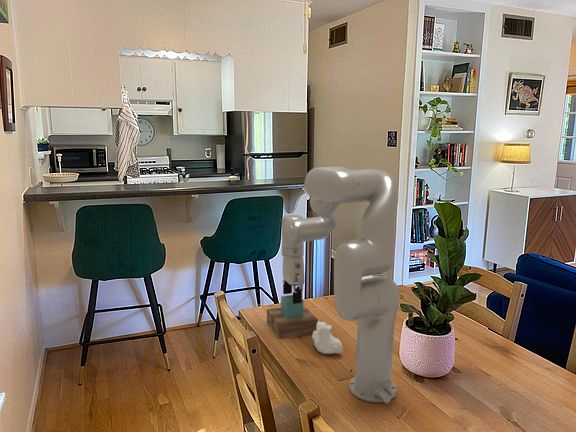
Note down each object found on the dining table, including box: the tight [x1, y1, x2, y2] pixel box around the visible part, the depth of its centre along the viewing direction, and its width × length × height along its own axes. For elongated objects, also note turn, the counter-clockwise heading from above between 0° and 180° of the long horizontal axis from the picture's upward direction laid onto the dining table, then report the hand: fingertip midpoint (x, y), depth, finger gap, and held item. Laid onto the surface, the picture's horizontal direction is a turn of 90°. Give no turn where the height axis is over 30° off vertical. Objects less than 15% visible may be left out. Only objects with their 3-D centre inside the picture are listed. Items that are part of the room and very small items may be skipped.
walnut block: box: [266, 304, 319, 340], centre depth 162 cm, size 14×14×5 cm
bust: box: [311, 320, 344, 355], centre depth 144 cm, size 12×8×11 cm
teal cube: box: [280, 294, 304, 319], centre depth 161 cm, size 6×6×6 cm
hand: (292, 298), depth 160 cm, fingers open, 9 cm apart
